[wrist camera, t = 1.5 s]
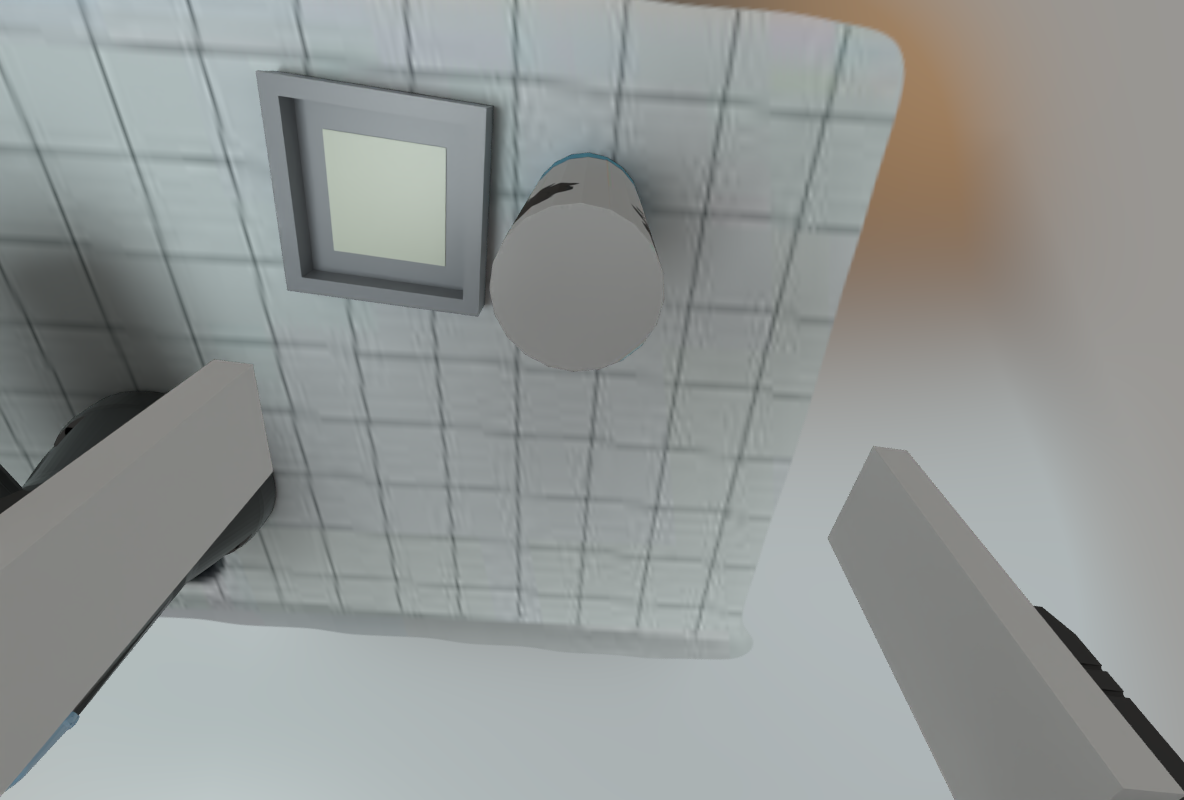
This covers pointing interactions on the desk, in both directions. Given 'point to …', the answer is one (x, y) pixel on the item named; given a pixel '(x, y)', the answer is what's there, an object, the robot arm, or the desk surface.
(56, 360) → the desk surface
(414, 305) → the tray
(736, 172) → the desk surface
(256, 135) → the desk surface
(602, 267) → the cup
